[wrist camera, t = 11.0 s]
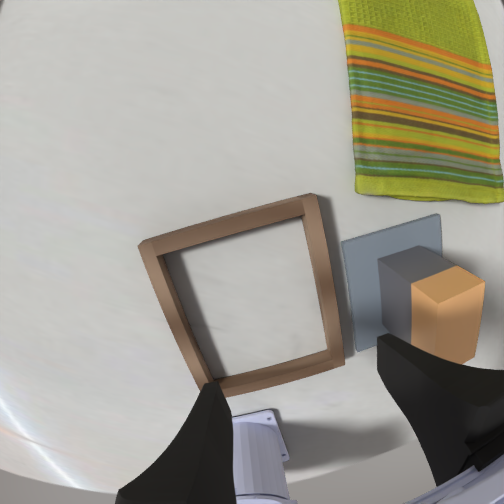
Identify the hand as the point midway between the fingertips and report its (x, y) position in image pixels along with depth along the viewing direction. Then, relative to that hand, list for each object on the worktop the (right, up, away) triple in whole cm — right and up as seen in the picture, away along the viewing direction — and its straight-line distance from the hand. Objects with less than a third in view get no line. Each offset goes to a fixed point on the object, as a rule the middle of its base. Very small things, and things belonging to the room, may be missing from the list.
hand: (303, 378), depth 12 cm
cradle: (-2, +1, +10) cm, 11 cm away
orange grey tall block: (+10, +3, +10) cm, 15 cm away
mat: (+10, +3, +11) cm, 15 cm away
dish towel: (+12, +27, +5) cm, 30 cm away
